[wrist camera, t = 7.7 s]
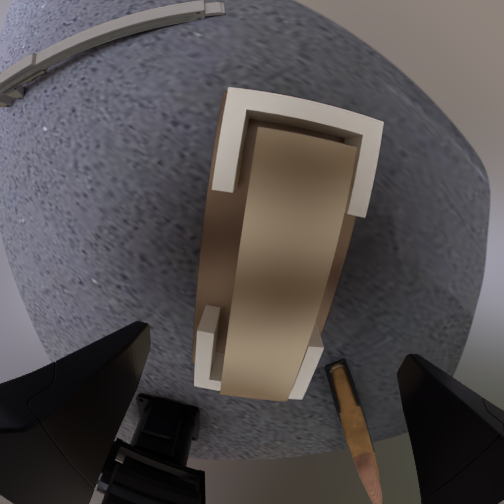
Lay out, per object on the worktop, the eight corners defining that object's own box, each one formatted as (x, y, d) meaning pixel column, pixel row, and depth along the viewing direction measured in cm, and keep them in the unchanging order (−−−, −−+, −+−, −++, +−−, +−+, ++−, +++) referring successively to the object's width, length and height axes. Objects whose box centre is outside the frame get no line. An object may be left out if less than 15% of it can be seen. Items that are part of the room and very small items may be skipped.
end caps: (297, 371, 20) (302, 399, 17) (201, 358, 20) (193, 386, 17) (362, 127, 14) (383, 121, 11) (234, 100, 14) (228, 87, 11)
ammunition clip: (324, 365, 21) (354, 493, 10) (344, 357, 21) (385, 482, 9) (348, 423, 24) (369, 514, 13) (363, 417, 24) (389, 507, 12)
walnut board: (303, 368, 21) (304, 376, 20) (194, 353, 21) (192, 361, 20) (368, 124, 15) (374, 122, 14) (225, 94, 14) (223, 90, 13)
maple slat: (282, 350, 19) (286, 401, 14) (227, 343, 19) (219, 394, 14) (327, 150, 14) (357, 147, 10) (258, 137, 14) (258, 126, 10)
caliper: (11, 108, 14) (-37, 108, 8) (11, 98, 14) (-36, 96, 8) (226, 16, 13) (212, -36, 7) (224, 5, 12) (210, -47, 6)
